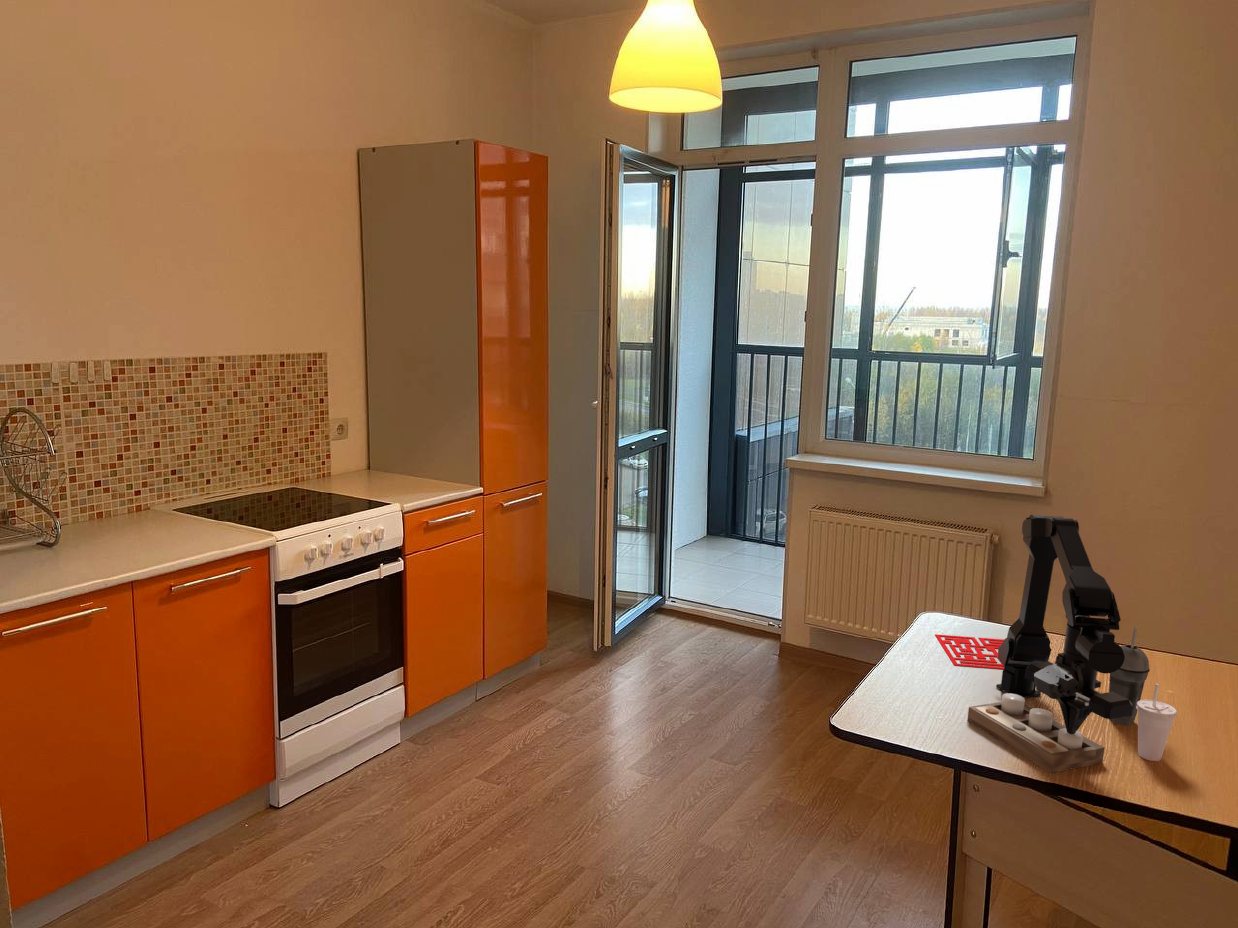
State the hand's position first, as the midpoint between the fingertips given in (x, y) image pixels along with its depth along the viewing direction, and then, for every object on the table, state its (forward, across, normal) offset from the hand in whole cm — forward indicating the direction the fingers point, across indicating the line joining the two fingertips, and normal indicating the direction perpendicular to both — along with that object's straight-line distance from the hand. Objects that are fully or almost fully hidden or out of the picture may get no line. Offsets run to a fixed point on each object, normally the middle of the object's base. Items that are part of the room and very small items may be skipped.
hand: (1070, 733), depth 165 cm
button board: (+5, -7, -2) cm, 9 cm away
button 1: (+2, -14, 0) cm, 14 cm away
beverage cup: (+5, -9, +24) cm, 26 cm away
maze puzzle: (+5, -46, +24) cm, 52 cm away
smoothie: (+5, +4, +16) cm, 17 cm away
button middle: (+2, -7, 0) cm, 7 cm away
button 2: (+3, 0, 0) cm, 3 cm away
